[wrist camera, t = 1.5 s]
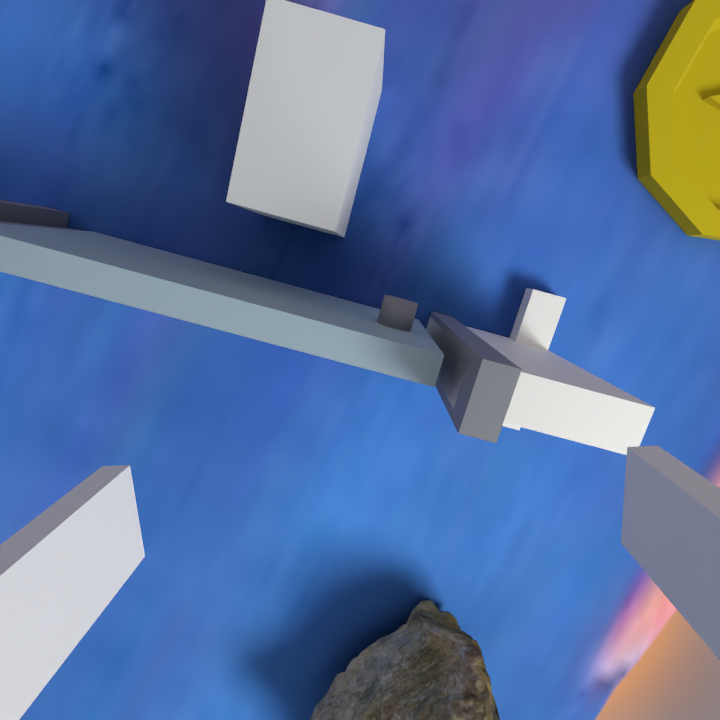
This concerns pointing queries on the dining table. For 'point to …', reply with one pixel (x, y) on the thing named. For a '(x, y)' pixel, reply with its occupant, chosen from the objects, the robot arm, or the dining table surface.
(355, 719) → the rock
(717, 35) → the decorative disc
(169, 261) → the door
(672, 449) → the dining table surface
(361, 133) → the white rectangular block
